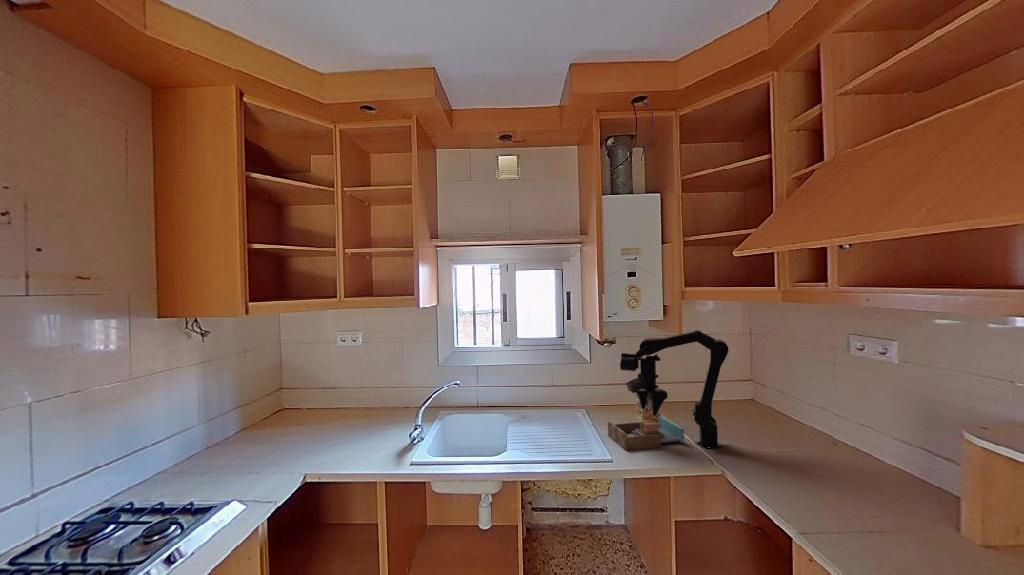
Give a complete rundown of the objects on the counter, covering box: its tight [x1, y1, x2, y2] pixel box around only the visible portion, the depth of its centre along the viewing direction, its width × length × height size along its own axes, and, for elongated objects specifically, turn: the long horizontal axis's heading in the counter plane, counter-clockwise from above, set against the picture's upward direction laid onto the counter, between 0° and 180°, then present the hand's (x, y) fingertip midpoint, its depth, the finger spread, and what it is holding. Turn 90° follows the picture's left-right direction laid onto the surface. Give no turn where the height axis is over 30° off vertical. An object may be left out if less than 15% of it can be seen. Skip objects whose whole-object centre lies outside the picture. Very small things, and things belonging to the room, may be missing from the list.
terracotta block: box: [640, 420, 659, 435], centre depth 179 cm, size 5×5×5 cm
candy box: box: [635, 393, 660, 427], centre depth 195 cm, size 9×4×15 cm, turn 116°
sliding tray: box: [631, 415, 685, 444], centre depth 179 cm, size 16×14×5 cm
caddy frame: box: [607, 421, 662, 451], centre depth 178 cm, size 16×14×6 cm
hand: (648, 411), depth 179 cm, fingers open, 9 cm apart
